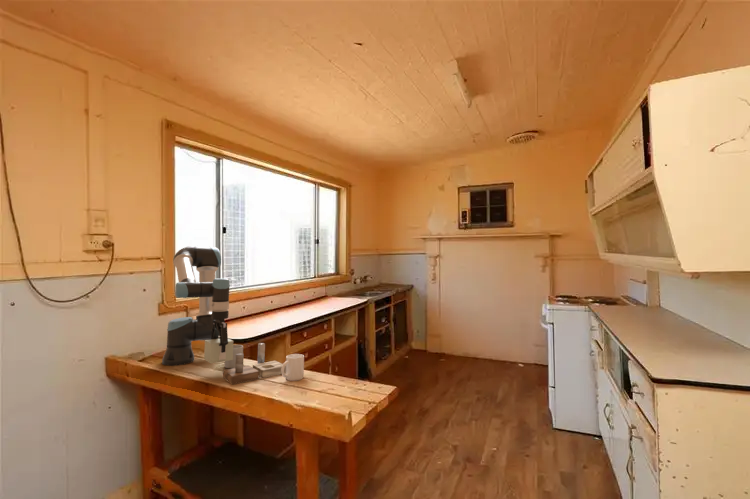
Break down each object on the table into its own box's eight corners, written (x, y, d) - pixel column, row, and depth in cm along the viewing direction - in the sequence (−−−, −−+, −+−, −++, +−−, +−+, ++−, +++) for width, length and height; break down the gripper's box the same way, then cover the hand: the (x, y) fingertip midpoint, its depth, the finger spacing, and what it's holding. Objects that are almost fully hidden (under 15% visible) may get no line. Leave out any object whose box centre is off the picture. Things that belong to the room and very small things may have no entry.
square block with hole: (252, 371, 170) (252, 364, 170) (275, 367, 178) (275, 360, 178) (262, 377, 161) (263, 370, 161) (286, 372, 169) (286, 365, 169)
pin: (256, 367, 178) (257, 343, 179) (262, 365, 180) (263, 342, 181) (259, 368, 175) (259, 344, 176) (265, 367, 178) (266, 343, 178)
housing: (204, 359, 165) (204, 340, 166) (225, 355, 172) (226, 337, 172) (210, 363, 158) (211, 343, 158) (232, 359, 164) (233, 340, 165)
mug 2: (286, 384, 153) (287, 361, 153) (275, 380, 158) (275, 357, 158) (307, 377, 162) (307, 355, 163) (295, 374, 167) (296, 352, 168)
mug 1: (231, 369, 174) (232, 349, 174) (219, 366, 178) (220, 346, 179) (249, 364, 183) (249, 345, 184) (237, 361, 188) (238, 343, 188)
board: (223, 377, 160) (224, 352, 161) (248, 372, 168) (249, 349, 169) (232, 384, 152) (233, 358, 152) (258, 378, 160) (259, 353, 160)
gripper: (204, 308, 172) (203, 353, 171) (219, 313, 155) (218, 363, 154) (220, 307, 177) (218, 351, 176) (236, 312, 160) (235, 360, 159)
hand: (218, 356), depth 165 cm, fingers closed on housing, 10 cm apart
